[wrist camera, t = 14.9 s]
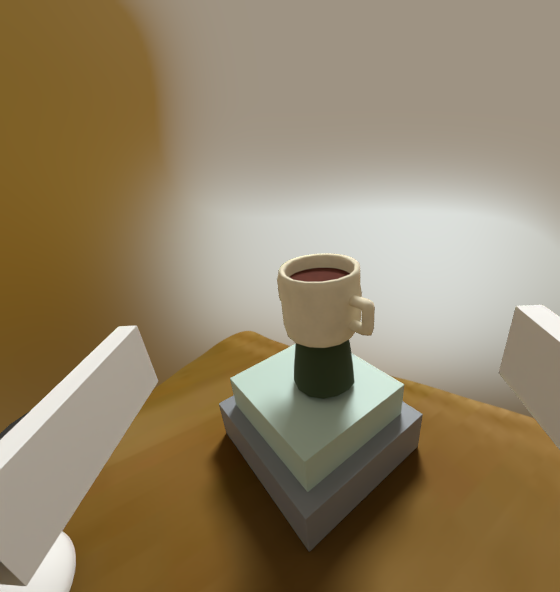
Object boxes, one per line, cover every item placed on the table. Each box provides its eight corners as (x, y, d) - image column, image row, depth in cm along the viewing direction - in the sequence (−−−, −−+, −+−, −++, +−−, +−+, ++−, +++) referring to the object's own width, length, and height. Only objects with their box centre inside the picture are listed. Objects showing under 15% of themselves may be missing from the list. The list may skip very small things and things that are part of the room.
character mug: (389, 387, 30) (399, 265, 25) (346, 432, 26) (346, 299, 21) (308, 346, 38) (301, 245, 32) (265, 376, 34) (247, 266, 28)
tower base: (320, 374, 46) (317, 324, 42) (417, 446, 34) (426, 385, 30) (226, 432, 38) (212, 377, 34) (309, 552, 26) (302, 488, 22)
